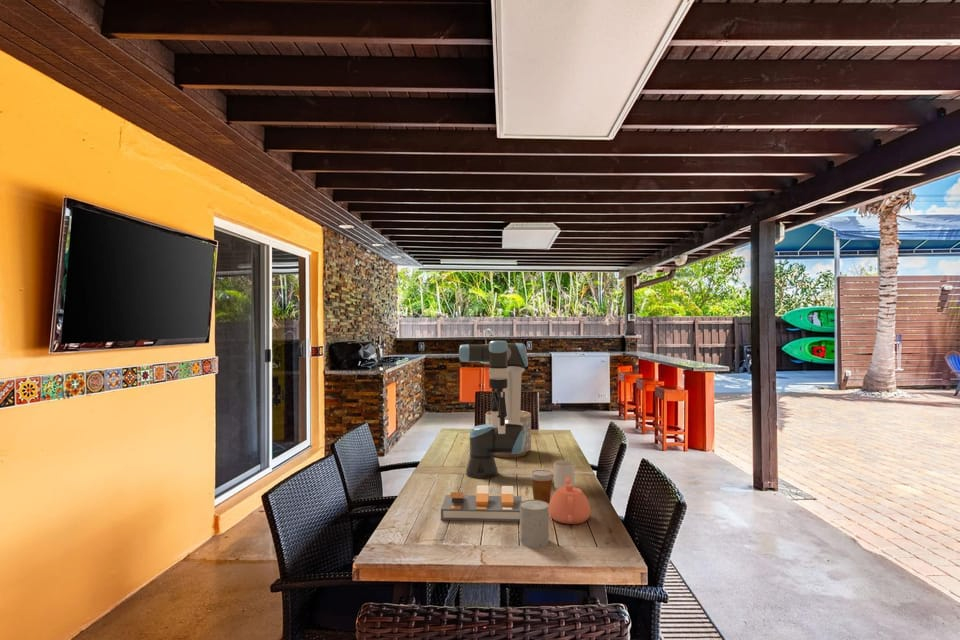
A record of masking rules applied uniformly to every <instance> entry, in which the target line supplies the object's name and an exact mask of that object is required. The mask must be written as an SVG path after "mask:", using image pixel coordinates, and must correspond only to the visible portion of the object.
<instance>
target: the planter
mask: <svg viewBox="0 0 960 640" xmlns="http://www.w3.org/2000/svg"><path fill="white" fill-rule="evenodd" d="M492 412H493V411H491V410H490V411H487V412H486V413H485V424H492ZM496 412H497V411H496ZM498 415H499V413H498ZM520 423H521V424H522V425H523V429H525V430H526V438H525V444H524V449H523V451H522V453H520V454H507V453H494V457H499V458H519V457H524V456H526V455H527V452H529V451H531V449H532V413H531V412H529V411H526V410H520ZM494 428H498V427H494Z"/></svg>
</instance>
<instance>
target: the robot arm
mask: <svg viewBox="0 0 960 640" xmlns="http://www.w3.org/2000/svg"><path fill="white" fill-rule="evenodd" d="M458 358H459V360H460V362H463V363H465V362H466V363H481V364H483V365H489V366H488V367H489V368H488V369H489V370H487V373H488V375H489V379H488V386H489V389H491V400H490V407H489V408H490V411H493V412H492V424H486V423H485V424H478V425H475V426H472V427H471V429H470V430H469V459H468V460H469V461H468V464H467V467H466V469H465V471H466V472H465V473H466V475H467V476H468V477H470V478H474V479H489V478H495V477H496V476H498V473H499V472H498V471H499V470H498V467H497V464H496V463H497V462H496V460H495V456H494V453H507V454H520V453H522V451H523V449H524V444H525V438H526V430H525V429H523V425H522V424H521V423H520V411H521V401H522V395H521V394H522V393H521V392H522V373H524V372H525V370H526V369H525V368H527V367H528V366H529V361H528V360H529V359H528V352H527V346H526V345H525V344H524V343H522V342H521V343H520V342H507V341H506V340H491V341H490V342H489V343H487V344H486V343H485V344H469V343H466V344H460V345H459V350H458ZM496 411H497V412H496ZM498 413H499V415H498ZM494 427H498V428H494Z"/></svg>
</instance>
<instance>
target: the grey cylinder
mask: <svg viewBox="0 0 960 640" xmlns="http://www.w3.org/2000/svg"><path fill="white" fill-rule="evenodd" d="M548 507H549V504H548V503H546V502H544V501H541V500H534V499H527V500H525V499H524V500H522V502H521V503H520V522H519V543H520V544H521V545H523V546H524V547H527V548H531V547H532V549H535V548H536V549H538V548H543V547H546V546H548V545H549V543H550V542H549V512H548Z"/></svg>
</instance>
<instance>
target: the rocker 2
mask: <svg viewBox="0 0 960 640" xmlns="http://www.w3.org/2000/svg"><path fill="white" fill-rule="evenodd" d="M489 486H490V485H479V484H478V485H477V486H476V495H475V496H476V506H488V497H489V496H490V495H489V494H490V487H489Z"/></svg>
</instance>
